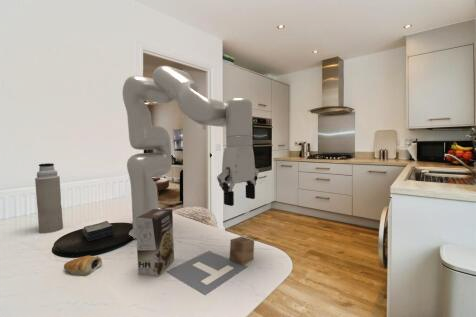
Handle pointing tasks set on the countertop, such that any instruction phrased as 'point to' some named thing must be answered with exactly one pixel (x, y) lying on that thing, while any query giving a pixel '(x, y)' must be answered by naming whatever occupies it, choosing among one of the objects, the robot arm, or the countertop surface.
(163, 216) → the coffee box
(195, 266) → the letter tile
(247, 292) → the countertop surface
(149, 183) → the robot arm
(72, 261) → the pastry
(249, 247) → the walnut block
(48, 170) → the thermos bottle
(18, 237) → the countertop surface
